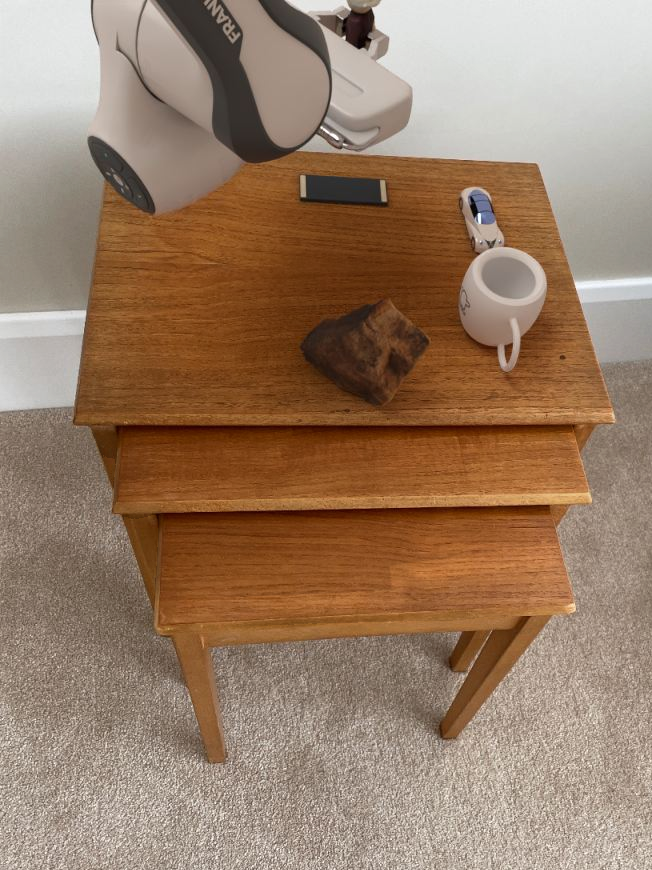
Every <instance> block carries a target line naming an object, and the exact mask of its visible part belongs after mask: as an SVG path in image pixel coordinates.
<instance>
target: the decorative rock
mask: <svg viewBox="0 0 652 870" xmlns="http://www.w3.org/2000/svg"><path fill="white" fill-rule="evenodd" d="M431 343H432V341H431V338H430V337H429V336H428V335H427V334H426V332H425V331H424V330H423V328H422V327H419V326H416V325H415V324H414V323H413V322H412V321H411V320H410V319H408V318H407V317H406V316H405V315H403V313H402V312H401V311H399V310H398V309H397V308H396V307H395V305H394V304H393V302H392V300H391V299H390V298H388V297H382V298H381V299H379V300H378V301H377V302H375V303H366V304H363V305H361V306H360V307H358V308H356V309H354V310H351V311H350V312H348V313H346V314H342V315H340V316H339V317H338V318H331V317H330V318H329V317H327V318H324V319H323V320H321V322H320V323H318V324H317V325H316V326H314V327H313V328H312V330H310V331H309V332H308V333H307V334H306V336H305V338H304V339H303V340H302V342H301V343H300V346H299V349H300V350H301V351H302V353H301V355H302V356H303V357H304V359H305V361H306V362H308V363H309V364H311V365H312V366H313V367H314V368H315V369H316V370H317V371H318V372H320V374H321V375H322V376H325V377H326V378H328V379H330V380H331V381H332V382H333V383H334V384H335V385H336V386H337V387H339V388H340V390H343V391H345V392H349V393H352V394H355V395H357V396H361V397H362V398H363V399H364V400H365V401H366V402H368V403H369V404H371V405H372V406H374V407H377V408H379V407H380V408H381V407H383V406H385V405H387V404H388V403H389V402H391V401H392V400H393V397H394V396H395V394H396V393H397V391H398V389H400V387H401V385H402V384H403V381H404V380H405V379H406V377H408V376H409V375H410V374H411V372H412V371H413V370H414V369H415V367H416V365H417V364H418V362H419V361H420V360H421V359H422V358H423V356H424V355H425V353H426V351H427V350H428V349H429V347H430V345H431Z"/></svg>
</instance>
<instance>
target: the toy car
mask: <svg viewBox="0 0 652 870" xmlns="http://www.w3.org/2000/svg"><path fill="white" fill-rule="evenodd" d="M492 204H493V203H492V196H491V194H490V193H489V192H488V190H486V189H484V188H482V187H479V186H470V187H466V188H464V189H463V190H461V192H460V194H459V197H458V205H459V206H458V207H459V210H461V212H462V214H463V216H464V219H465V220H464V221H465V224H466V229H467V232H468V236H469V240H470V246H471V249H472V251H474V252H475V253H479V254H481V253H483V252H484V251H486V250H489V249H490V248H496V247H505V235H504V234H503V232H502V230H501V229H500V228H499V226H498V224H497V217H498V214H495V210H494V208H493V205H492Z"/></svg>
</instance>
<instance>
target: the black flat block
mask: <svg viewBox="0 0 652 870" xmlns="http://www.w3.org/2000/svg"><path fill="white" fill-rule="evenodd" d="M298 180H299V182H298V183H299V184H298V186H299V187H298V188H299V201H300V202H311V203H328V204H329V203H331V204H345V205H346V204H347V205H365V206H366V205H367V206H381V207H383V206H384V207H388V204H389V202H388V201H389V200H388V190H387V178H386V179H385V178H369V177H353V176H336V175H322V174H321V175H319V174H305V173H299V176H298Z"/></svg>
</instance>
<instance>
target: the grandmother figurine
mask: <svg viewBox="0 0 652 870" xmlns="http://www.w3.org/2000/svg"><path fill="white" fill-rule="evenodd" d="M381 1H382V0H346V3H347V6H348V7H349V9H350V14H349V17H348V19H347V23H346V36H344V38H345V39H344V40H345V41H347V42H348V43H350V44H351V45H353V46H354V47H356V48H357V49H358V50H360V49H361V48H364V47H365V45H366V43H365V38H366V34H368V33H370V32H373V31H374V29H377V28H376V21H375V19H376V17H375V13H374V10H373V8H376V7H377V6H379V5H380V3H381Z"/></svg>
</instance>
